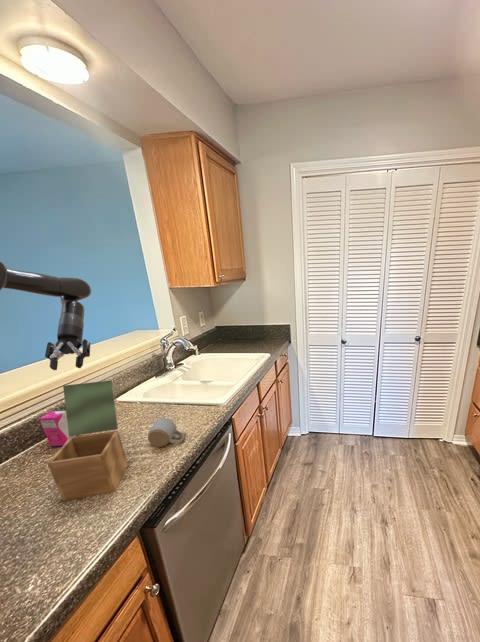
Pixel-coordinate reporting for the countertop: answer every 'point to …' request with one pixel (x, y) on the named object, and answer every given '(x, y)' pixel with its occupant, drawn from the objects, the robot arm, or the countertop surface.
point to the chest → (89, 465)
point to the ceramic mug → (163, 433)
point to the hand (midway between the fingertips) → (66, 368)
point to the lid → (90, 407)
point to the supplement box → (56, 428)
